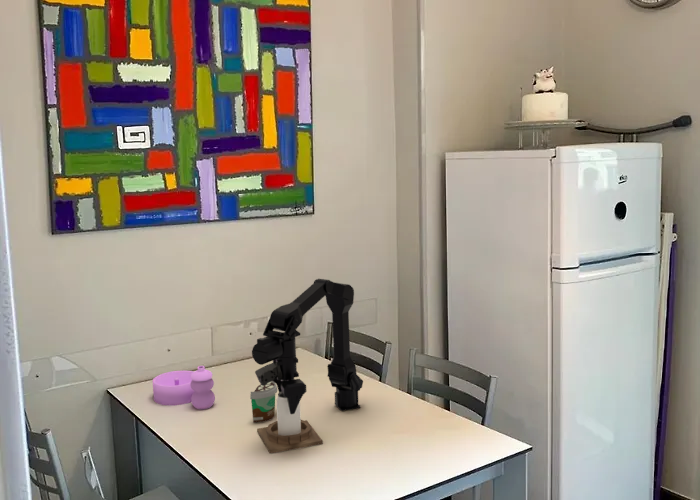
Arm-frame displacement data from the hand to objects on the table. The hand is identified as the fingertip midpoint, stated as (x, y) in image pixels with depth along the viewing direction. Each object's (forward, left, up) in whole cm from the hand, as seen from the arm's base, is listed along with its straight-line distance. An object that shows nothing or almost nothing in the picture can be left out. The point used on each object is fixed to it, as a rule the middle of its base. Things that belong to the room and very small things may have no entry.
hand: (287, 407), depth 198 cm
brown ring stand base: (0, 0, -9) cm, 9 cm away
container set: (+23, -41, -9) cm, 48 cm away
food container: (+2, -17, -9) cm, 19 cm away
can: (0, 0, -8) cm, 8 cm away
